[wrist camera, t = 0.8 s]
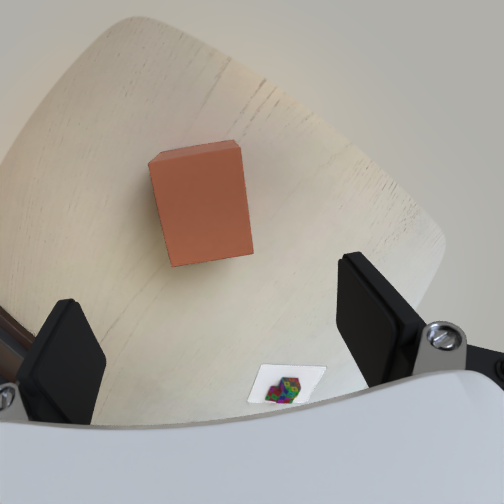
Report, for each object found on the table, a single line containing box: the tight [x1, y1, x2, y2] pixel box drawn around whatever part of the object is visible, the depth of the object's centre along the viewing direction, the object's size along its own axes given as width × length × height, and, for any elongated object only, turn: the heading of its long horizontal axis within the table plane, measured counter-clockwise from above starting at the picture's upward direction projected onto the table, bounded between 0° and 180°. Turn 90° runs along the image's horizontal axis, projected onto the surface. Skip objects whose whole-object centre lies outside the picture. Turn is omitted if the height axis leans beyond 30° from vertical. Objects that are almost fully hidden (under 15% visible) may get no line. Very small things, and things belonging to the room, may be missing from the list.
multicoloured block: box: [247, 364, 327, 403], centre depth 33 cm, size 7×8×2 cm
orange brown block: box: [148, 140, 254, 267], centre depth 21 cm, size 7×6×5 cm
